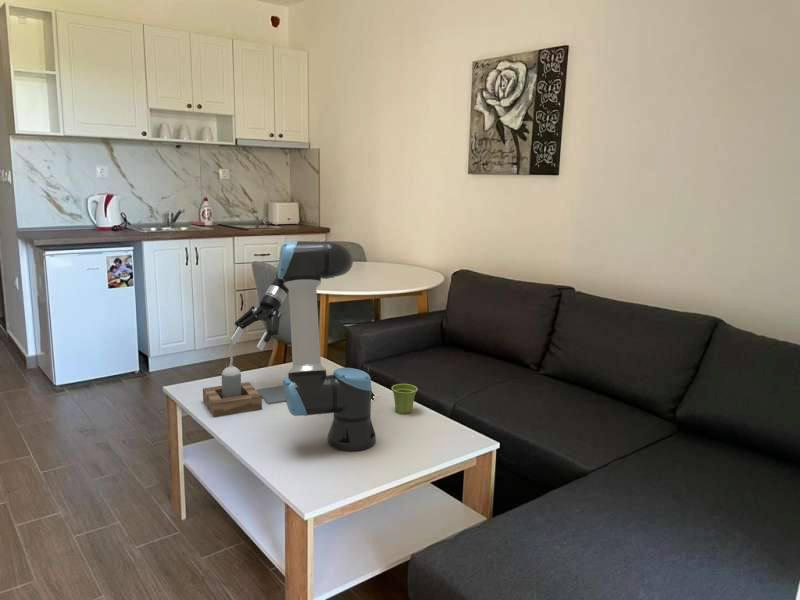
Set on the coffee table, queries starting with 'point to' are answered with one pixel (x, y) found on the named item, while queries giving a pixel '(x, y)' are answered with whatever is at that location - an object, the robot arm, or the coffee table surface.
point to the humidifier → (231, 379)
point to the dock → (232, 400)
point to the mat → (273, 394)
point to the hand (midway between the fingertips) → (245, 345)
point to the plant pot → (404, 397)
